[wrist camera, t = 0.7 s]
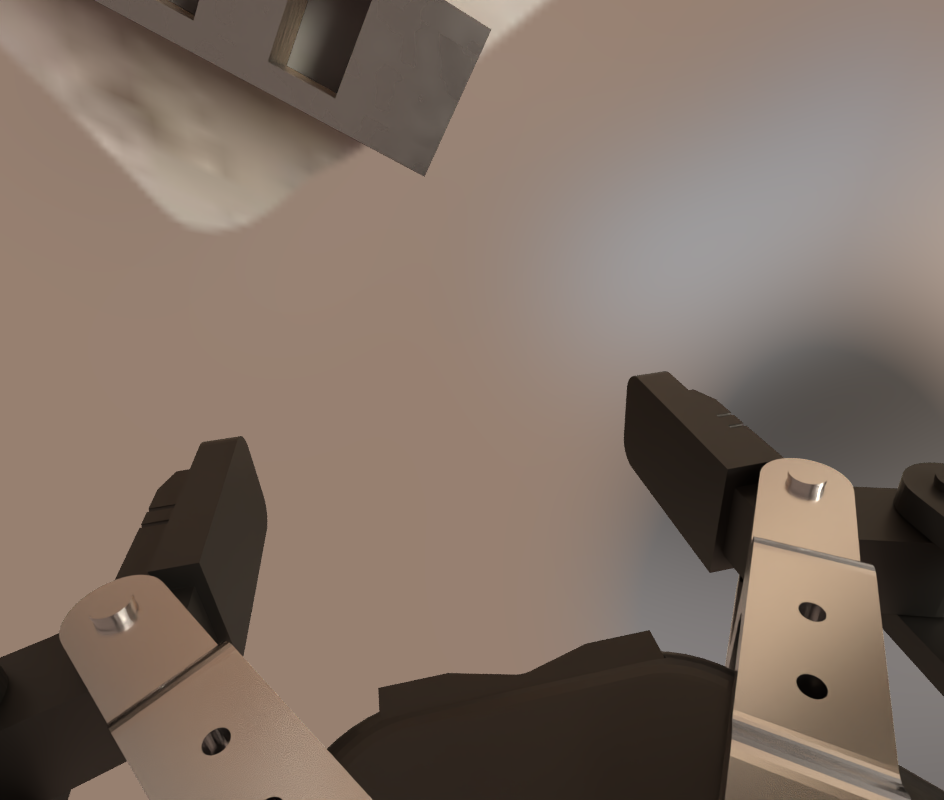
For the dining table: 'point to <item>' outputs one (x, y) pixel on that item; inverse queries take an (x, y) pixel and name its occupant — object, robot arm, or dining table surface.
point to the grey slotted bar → (368, 72)
